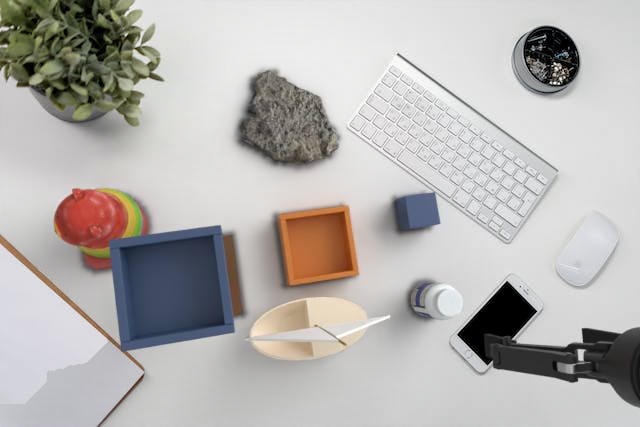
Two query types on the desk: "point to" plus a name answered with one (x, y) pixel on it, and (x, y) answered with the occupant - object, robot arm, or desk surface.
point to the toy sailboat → (309, 328)
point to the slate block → (417, 211)
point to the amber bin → (317, 245)
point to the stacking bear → (98, 222)
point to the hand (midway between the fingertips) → (536, 341)
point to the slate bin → (174, 286)
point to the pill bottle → (436, 301)
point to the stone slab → (288, 122)
